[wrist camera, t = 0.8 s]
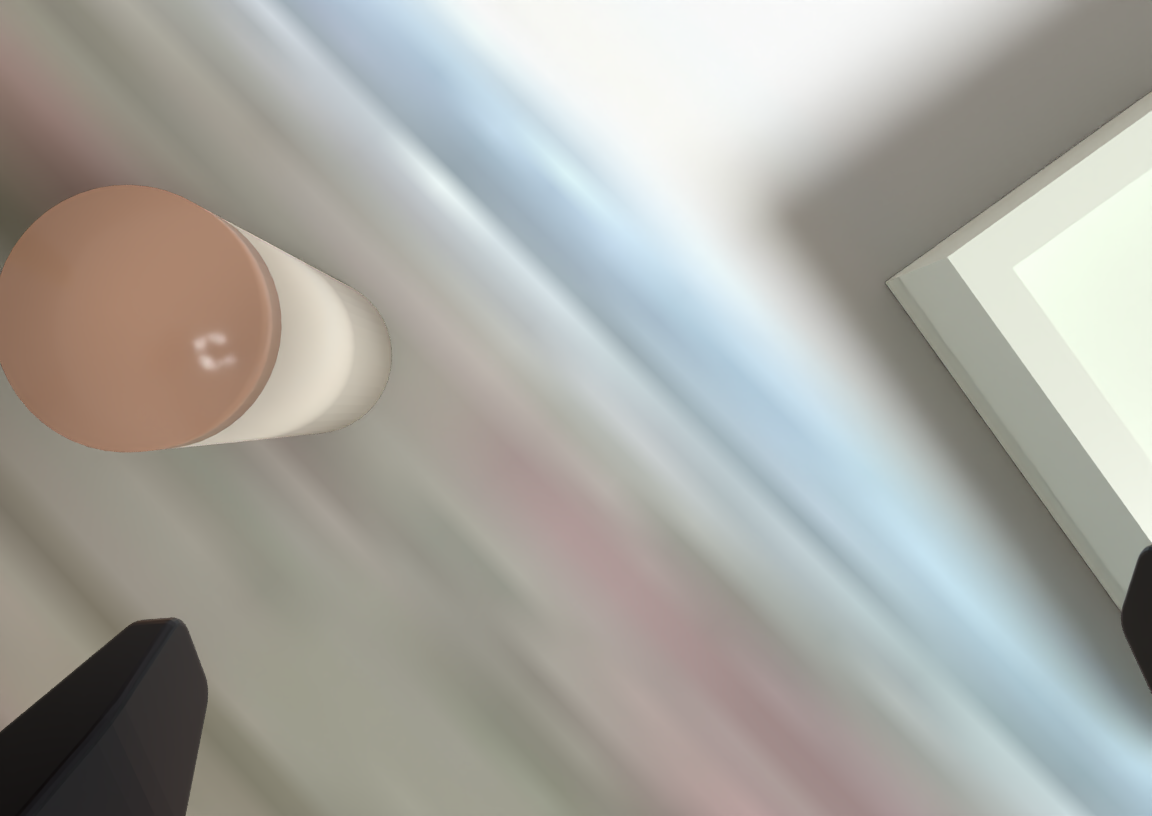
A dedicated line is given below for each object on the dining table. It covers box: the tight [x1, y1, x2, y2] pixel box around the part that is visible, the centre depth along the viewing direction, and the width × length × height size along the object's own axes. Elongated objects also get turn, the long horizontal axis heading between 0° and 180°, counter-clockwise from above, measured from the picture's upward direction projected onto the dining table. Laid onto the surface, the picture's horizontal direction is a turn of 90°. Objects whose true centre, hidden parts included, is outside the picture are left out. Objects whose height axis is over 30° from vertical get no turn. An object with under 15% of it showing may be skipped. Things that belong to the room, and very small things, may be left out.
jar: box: [0, 185, 392, 452], centre depth 19 cm, size 4×4×10 cm
